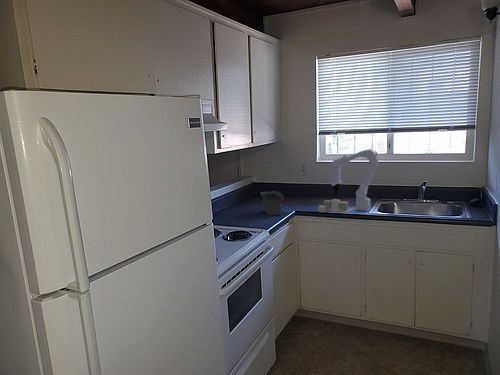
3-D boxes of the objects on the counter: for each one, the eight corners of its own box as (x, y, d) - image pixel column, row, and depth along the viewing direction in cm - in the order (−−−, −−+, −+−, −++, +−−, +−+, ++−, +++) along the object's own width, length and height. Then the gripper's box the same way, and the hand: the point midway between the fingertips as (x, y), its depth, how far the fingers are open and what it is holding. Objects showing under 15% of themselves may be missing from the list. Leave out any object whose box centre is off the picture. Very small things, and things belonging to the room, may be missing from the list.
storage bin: (259, 210, 282) (259, 191, 279) (279, 208, 284) (279, 190, 282) (266, 217, 261) (265, 197, 258) (287, 215, 264) (287, 195, 261)
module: (340, 207, 273) (340, 199, 272) (337, 209, 269) (337, 200, 268) (333, 207, 276) (333, 199, 275) (331, 208, 272) (331, 200, 271)
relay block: (325, 211, 271) (325, 205, 270) (324, 212, 267) (323, 207, 266) (319, 210, 272) (319, 205, 272) (318, 212, 269) (318, 206, 268)
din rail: (352, 210, 269) (352, 201, 268) (348, 212, 263) (348, 203, 262) (324, 207, 282) (323, 198, 281) (319, 209, 276) (319, 201, 275)
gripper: (335, 174, 283) (335, 191, 285) (327, 177, 271) (327, 195, 274) (344, 174, 279) (344, 192, 281) (336, 177, 267) (336, 196, 269)
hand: (336, 194), depth 277 cm, fingers closed
